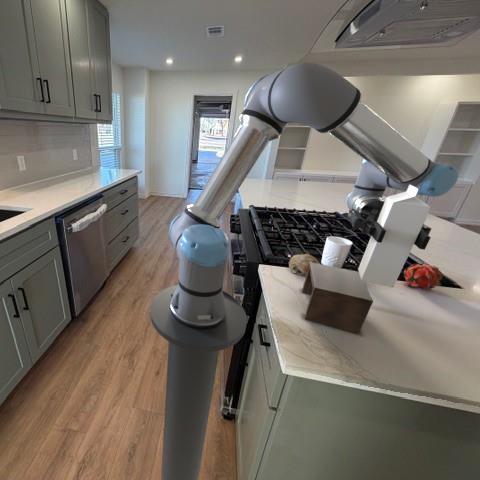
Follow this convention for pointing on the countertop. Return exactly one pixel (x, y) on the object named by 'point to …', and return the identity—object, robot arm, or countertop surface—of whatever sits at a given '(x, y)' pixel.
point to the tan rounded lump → (301, 263)
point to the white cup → (335, 251)
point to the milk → (394, 237)
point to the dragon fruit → (423, 276)
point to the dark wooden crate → (336, 297)
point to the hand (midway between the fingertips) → (402, 239)
